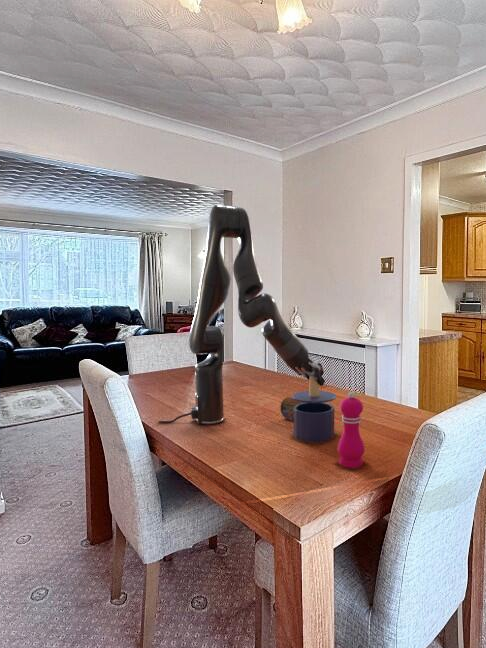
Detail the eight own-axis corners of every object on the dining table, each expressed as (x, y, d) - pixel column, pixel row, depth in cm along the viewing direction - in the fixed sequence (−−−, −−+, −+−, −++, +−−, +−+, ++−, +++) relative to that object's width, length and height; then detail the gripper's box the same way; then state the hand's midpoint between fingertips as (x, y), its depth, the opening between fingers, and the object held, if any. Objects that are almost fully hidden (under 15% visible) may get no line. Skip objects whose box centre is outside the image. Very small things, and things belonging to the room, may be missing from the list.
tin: (280, 419, 162) (279, 396, 161) (283, 416, 165) (283, 394, 164) (319, 424, 157) (320, 400, 155) (323, 421, 160) (323, 398, 158)
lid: (301, 406, 134) (301, 374, 133) (286, 396, 147) (286, 366, 145) (343, 402, 139) (343, 371, 137) (325, 392, 151) (325, 363, 150)
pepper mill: (335, 459, 126) (335, 388, 123) (361, 458, 126) (362, 388, 124) (339, 470, 119) (340, 395, 116) (367, 469, 119) (368, 395, 116)
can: (302, 445, 136) (302, 415, 135) (288, 432, 148) (288, 404, 147) (340, 440, 141) (340, 410, 139) (324, 428, 152) (324, 400, 151)
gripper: (313, 340, 130) (341, 376, 140) (280, 336, 140) (308, 370, 150) (300, 361, 127) (329, 396, 137) (267, 355, 137) (297, 388, 147)
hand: (318, 382), depth 143 cm, fingers closed on lid, 3 cm apart
